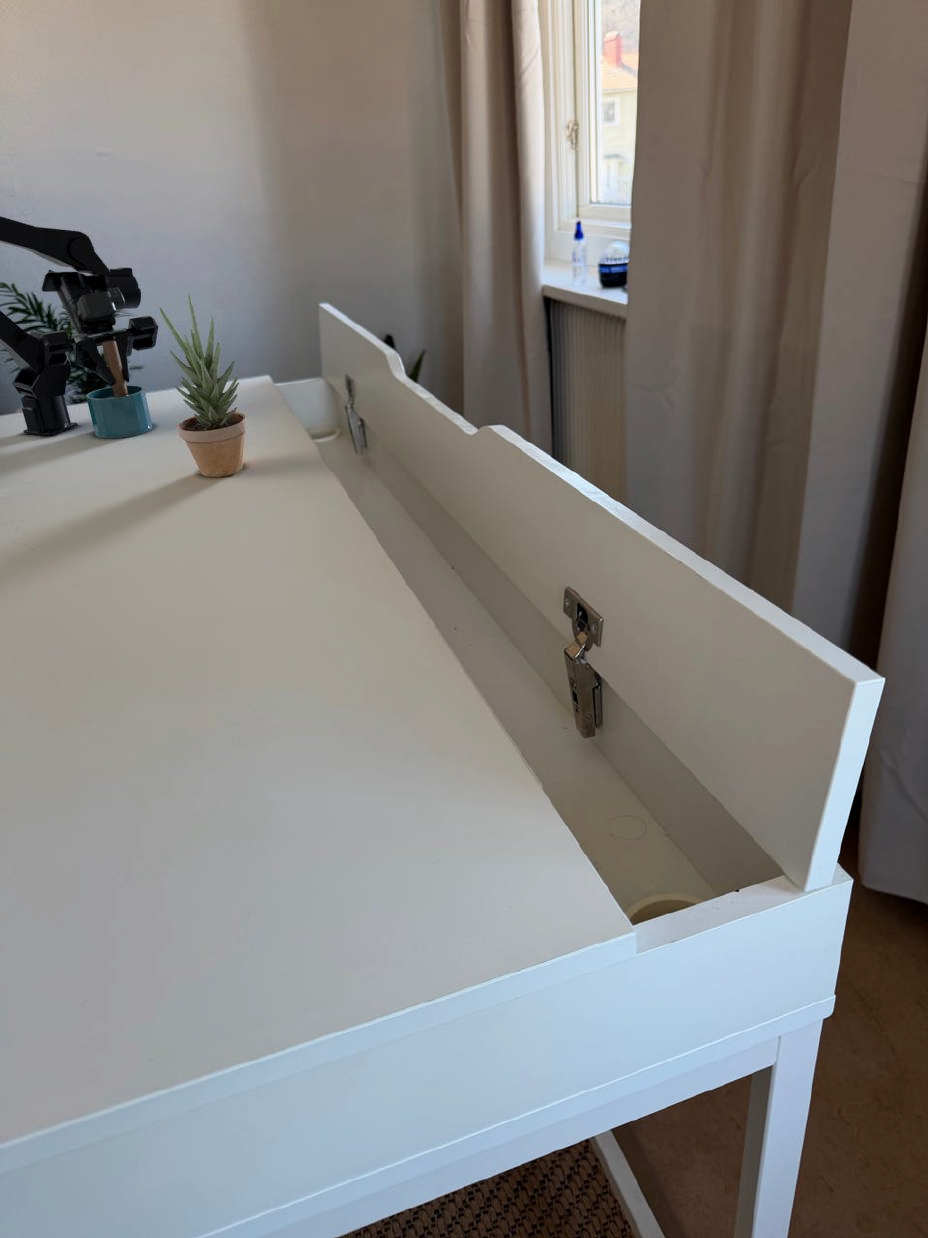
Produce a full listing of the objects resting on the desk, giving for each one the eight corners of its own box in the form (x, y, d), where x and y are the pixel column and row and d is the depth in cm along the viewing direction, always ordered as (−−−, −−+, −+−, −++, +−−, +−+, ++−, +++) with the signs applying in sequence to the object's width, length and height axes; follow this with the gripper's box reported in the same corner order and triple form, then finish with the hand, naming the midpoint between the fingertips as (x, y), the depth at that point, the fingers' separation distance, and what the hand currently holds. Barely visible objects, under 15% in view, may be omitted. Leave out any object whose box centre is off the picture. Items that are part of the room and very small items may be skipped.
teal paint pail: (123, 421, 164) (114, 383, 161) (163, 424, 161) (155, 386, 158) (83, 436, 157) (74, 397, 154) (125, 440, 153) (116, 400, 150)
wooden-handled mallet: (111, 420, 160) (92, 342, 153) (134, 415, 162) (116, 337, 155) (119, 424, 157) (100, 345, 151) (143, 419, 159) (125, 340, 153)
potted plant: (173, 478, 134) (135, 297, 122) (213, 458, 141) (180, 285, 130) (232, 483, 130) (198, 297, 119) (269, 462, 138) (241, 285, 127)
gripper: (24, 281, 146) (64, 362, 143) (141, 264, 156) (180, 340, 153) (25, 327, 156) (62, 405, 153) (135, 309, 165) (172, 382, 162)
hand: (120, 382), depth 155 cm, fingers closed on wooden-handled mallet, 2 cm apart
